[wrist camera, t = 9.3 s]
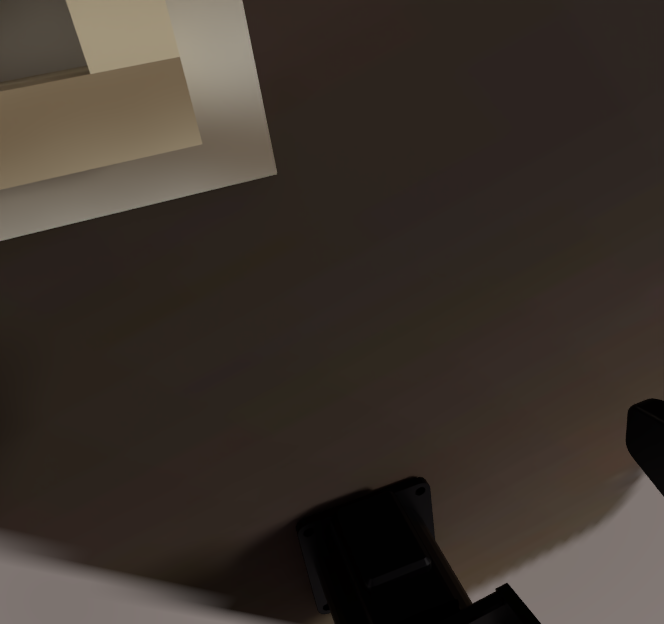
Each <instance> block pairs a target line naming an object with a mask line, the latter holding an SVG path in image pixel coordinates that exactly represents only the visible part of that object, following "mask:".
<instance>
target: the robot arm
mask: <svg viewBox="0 0 664 624" xmlns="http://www.w3.org/2000/svg"><path fill="white" fill-rule="evenodd" d="M626 445H627V448H628V451H629V453H630V454H631V456H632V457H633V459H634V460H635V461H636V462H637V464H638V465H639V466H640V467H641V469H642V470H643V471H644V472H645V474H646V475H647V476H648V477H649V479H650V480H651V481H652V482H653V484H654V485H655V486H656V487H657V489H658V490H659V491H660V492H661V494H662V495H663V496H664V401H662V400H659V399H653V398H652V399H647V400H644V401H642V402H639V403H637V404H634V405H632V406H631V407H630V408H629V410H628V415H627V429H626ZM418 488H419V489H418ZM309 528H310V529H309ZM307 529H308V530H307ZM296 531H297V535H298V539H299V543H300V546H301V550H302V554H303V558H304V561H305V565H306V569H307V572H308V576H309V580H310V584H311V587H312V591H313V595H314V599H315V602H316V606H317V609H318V611H319V613H321V614H328V613H331V615H332V618H333V621H334V623H335V624H541V623H540V622H539V621H538V619H537V618H536V617H535V616H534V615H533V613H532V612H531V611H530V610H529V609H528V607H527V606H526V605H525V604H524V602H522V600H521V599H520V598H519V597H518V595H517V594H516V593H515V592H514V590H513V589H512V588H511V587H510V585H509V584H508V583H506V584H504V585H502V586H500V587H498V588H496V592H494V593H492V594H490V595H488V596H486V597H485V598H483V599H480V600H479V601H477V602H475V603H472V602H471V600H470V598H469V597H468V595H467V593H466V592H465V590H464V588H463V587H462V585H461V583H460V582H459V580H458V578H457V576H456V575H455V573H454V571H453V570H452V568H451V566H450V565H449V563H448V561H447V560H446V558H445V556H444V554H443V553H442V551H441V549H440V548H439V546H438V544H437V543H436V541H435V534H434V523H433V513H432V503H431V492H430V486H429V484H428V483H427V481H426V480H425V479H424V478H422V477H418V478H414V479H412V480H409V481H406V482H403V483H401V484H398V485H395V486H392V487H390V488H387V489H384V490H381V491H379V492H376V493H373V494H370V495H368V496H365V497H362V498H359V499H357V500H354V501H351V502H348V503H346V504H343V505H340V506H337V507H335V508H332V509H329V510H326V511H324V512H321V513H318V514H315V515H313V516H310V517H307V518H305V519H303V520H301V521H300V522H299V523H298V524H297V526H296Z"/></svg>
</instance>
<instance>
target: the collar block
mask: <svg viewBox="0 0 664 624" xmlns="http://www.w3.org/2000/svg"><path fill="white" fill-rule="evenodd" d="M275 174H277V170H276V166H275V161H274V156H273V151H272V146H271V141H270V136H269V131H268V126H267V121H266V116H265V111H264V106H263V101H262V96H261V91H260V86H259V81H258V76H257V71H256V66H255V62H254V57H253V52H252V47H251V42H250V37H249V32H248V27H247V22H246V17H245V12H244V7H243V2H242V0H0V241H2V240H6V239H10V238H14V237H18V236H23V235H27V234H31V233H35V232H39V231H43V230H47V229H52V228H56V227H60V226H64V225H68V224H72V223H76V222H81V221H85V220H89V219H93V218H97V217H101V216H105V215H110V214H114V213H118V212H122V211H126V210H130V209H134V208H139V207H143V206H147V205H151V204H155V203H159V202H163V201H168V200H172V199H176V198H180V197H184V196H188V195H192V194H197V193H201V192H205V191H209V190H213V189H217V188H221V187H226V186H230V185H234V184H238V183H242V182H246V181H250V180H255V179H259V178H263V177H267V176H271V175H275Z"/></svg>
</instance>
